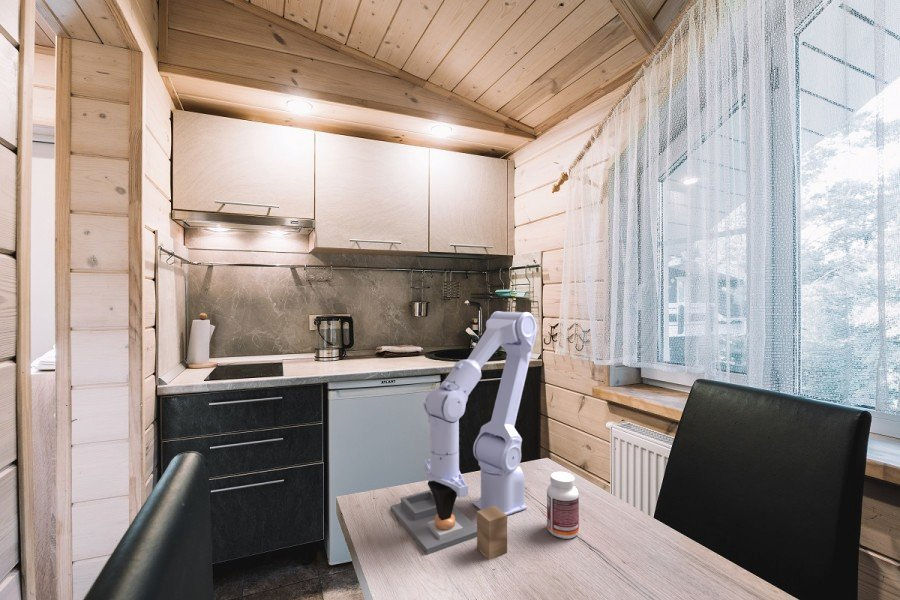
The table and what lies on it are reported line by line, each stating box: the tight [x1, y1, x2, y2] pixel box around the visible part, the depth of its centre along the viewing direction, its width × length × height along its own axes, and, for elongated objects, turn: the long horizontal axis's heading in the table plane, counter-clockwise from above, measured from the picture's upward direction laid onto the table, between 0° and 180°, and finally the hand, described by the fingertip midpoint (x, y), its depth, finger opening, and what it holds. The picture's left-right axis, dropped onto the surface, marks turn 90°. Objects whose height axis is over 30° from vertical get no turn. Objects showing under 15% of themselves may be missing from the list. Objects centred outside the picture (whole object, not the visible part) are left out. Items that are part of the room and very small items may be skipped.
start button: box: [435, 514, 455, 529], centre depth 82 cm, size 4×4×1 cm
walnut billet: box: [476, 506, 508, 561], centre depth 76 cm, size 4×4×7 cm
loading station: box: [389, 489, 477, 555], centre depth 86 cm, size 12×18×2 cm, turn 30°
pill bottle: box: [546, 471, 580, 540], centre depth 83 cm, size 6×6×11 cm
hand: (444, 517), depth 82 cm, fingers closed, pressing on start button
